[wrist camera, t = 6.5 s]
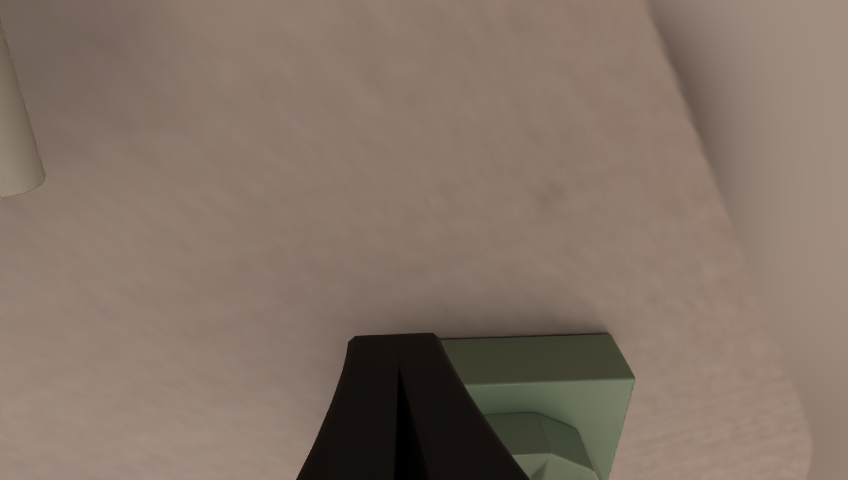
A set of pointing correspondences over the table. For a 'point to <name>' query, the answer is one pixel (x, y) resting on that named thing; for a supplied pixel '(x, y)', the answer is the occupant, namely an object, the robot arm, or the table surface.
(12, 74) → the drawer
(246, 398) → the table surface
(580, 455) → the block
